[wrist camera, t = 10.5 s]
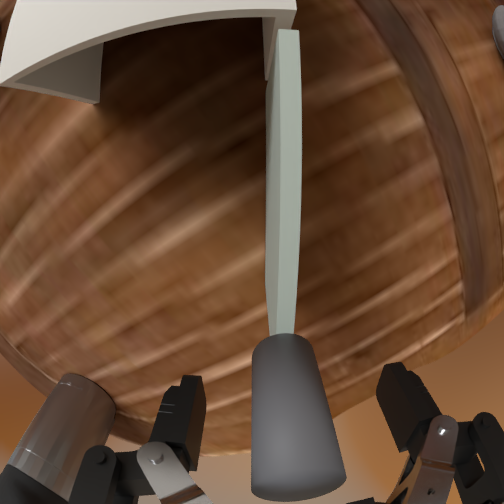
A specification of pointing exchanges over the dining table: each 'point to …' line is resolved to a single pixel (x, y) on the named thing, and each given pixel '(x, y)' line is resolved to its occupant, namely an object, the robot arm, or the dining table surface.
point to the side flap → (288, 317)
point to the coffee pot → (499, 28)
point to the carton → (108, 36)
